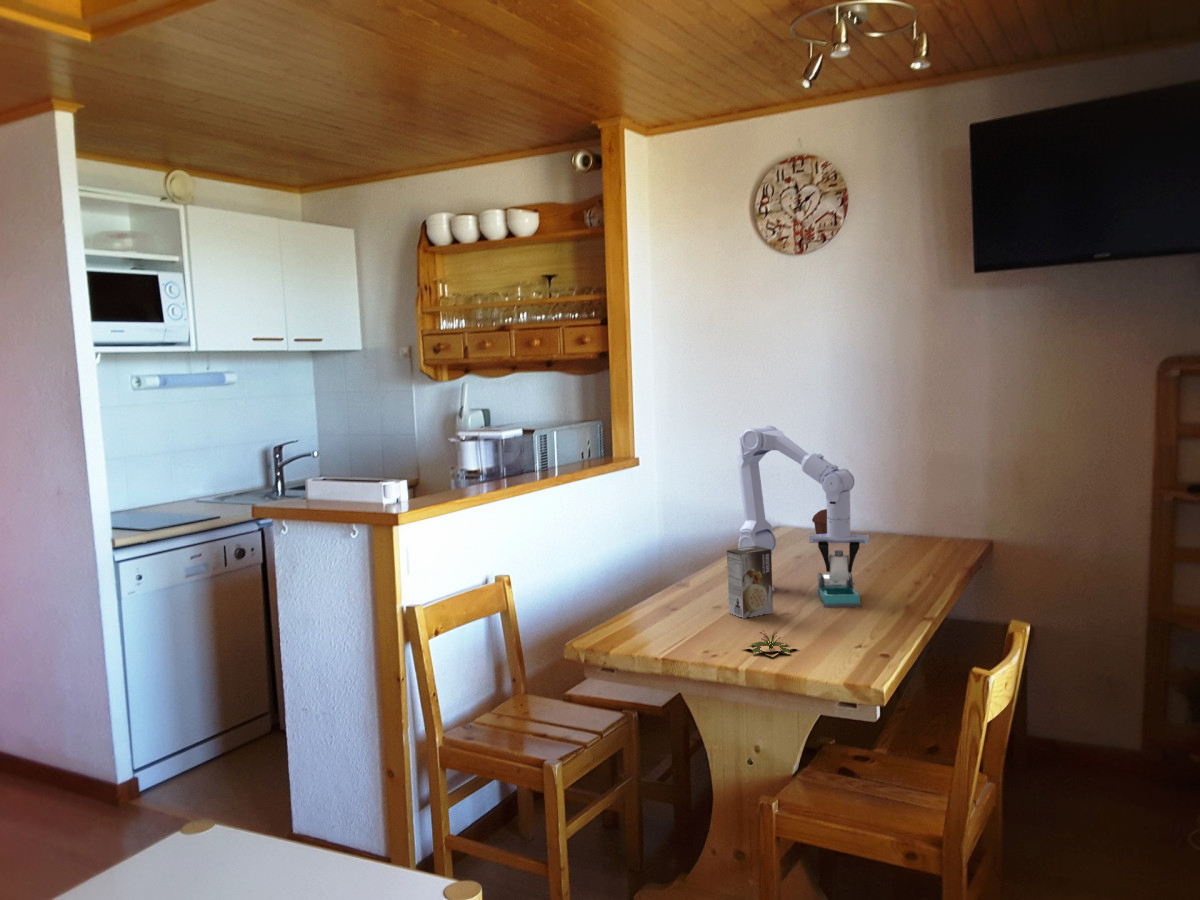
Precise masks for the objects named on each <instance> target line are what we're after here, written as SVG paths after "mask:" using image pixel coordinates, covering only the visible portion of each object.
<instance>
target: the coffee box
mask: <svg viewBox="0 0 1200 900" xmlns="http://www.w3.org/2000/svg"><path fill="white" fill-rule="evenodd" d="M726 555H727V556H726V558H727V562H726V563H727V565H726V566H727V591H728V592H727V593H728V599H727V600H728V614H730V613H731V614H730V615H732V614H733V615H732V616H735V615H736V617H738V616H739V617H738V618H740V617H742V618H741V619H743V618H745V619H748V618H747V617H750V618H753V616H755V617H759V616H758V615H760V616H763V614H765V615H769V614H773V613H774V604H773V603H774V600H773V596H774V595H773V591H772V585H773V568H772V565H773V562H772V561H773V560H772V555H771V549H767V548H763V547H759V546H751V547H744V548H739V547H737V548H732V549H727V550H726Z"/></svg>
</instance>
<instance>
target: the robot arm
mask: <svg viewBox="0 0 1200 900" xmlns="http://www.w3.org/2000/svg"><path fill="white" fill-rule="evenodd" d="M770 451H778V452H779V453H781V454H782V455H785V456H786V457H788V458H790V459H791V460H793V461H794V462H796V463H797V464H799V465H801V470H802V472H803V473H804V474H805V475H807V476H808V477H810V478H812V480H814V481H816V482H817V483H818V484H820V485H821V487H822V489H823V491H824V493H825V499H826V509H827V534H816V533H815V534H814V533H813V534H812V533H811V534H809V535H808V539H809V541H808V543H809V544H814V543H815V544H816V543H817V544H818V545H817V547H818V549H819V552H820V554H821V555H822V559H823V560H824V563H825V571H826V573H829V555H830V553H829V551H830V550H829V548H830V547H829V544H849V546H848V548H849V551H848V552H849V553H848V555H849V572H851V573H852V571H853V565H854V562H855V559H856V556H857V554H858V551H859V550H860V544H864V545H869V544H870V542H869V541H870V538H869V537H870V535H868V534H856V533H854V534H853V533H851V490H852V489H853V488H854V486H855V477H854V475H853V474H852V472H851V471H849V469H847V468H840V469H839V466H838V465H837V464H833V463H831V462H829V460H827V459H825V458H824V457H825V456H824V455H823V454H821V453H815V452H814V453H811V454H810V453H808V452H807V451H806V450H805V449H803V448H802V447H800V445H798V444H797V443H795V442H794V441H793V440H791V439H790V437H788V436H786V435H785V433H784V432H783V431H782V430H779V429H778V428H776V427H775V426H773V425H766V426H762V427H761V426H760V427H755V428H754V427H749V428H747V429H745V430H744V432H742V434H740V436H739V448H738V454H737V458H736V459H737V466H738V467H737V468H738V474H739V476H738V477H739V483H740V490H741V500H742V508H743V515H744V523H743V524H742V526H741V527H740V529H739V540H738V548H744V547H751V546H759V547H763V548H767V549H771V556H772V555H773V552H774V550H775V548H776V546H777V538H776V535H775V534H774V532H773V531H774V530H773V526H772V525H771V523H770V522H768V520H767V519H766V512H765V506H764V505H765V504H764V498H763V497H764V496H763V488H762V482H761V481H762V480H761V474H760V473H761V472H760V471H761V469H760V465H759V462H760V461H761V460H762V458H764V456H765V455H766V454H767V453H769V452H770ZM831 540H833V541H831ZM772 592H775V588H774V586H773V584H772Z"/></svg>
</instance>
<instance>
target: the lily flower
mask: <svg viewBox="0 0 1200 900" xmlns="http://www.w3.org/2000/svg"><path fill="white" fill-rule="evenodd" d="M761 631H762V632H761ZM761 631H759V633H760V634H761V635H763V638H762V637H761V638H760V639H761V640H762V641H757V642H753V643H752V645H753V646H754V647H757V648H755V649H753V651H752V654H753V653H754V652H755V653H756V652H759V653H758V654H763V652H765V651H762V650H760V648H761V647H760V646H769V649H770V648H771V649H772V648H773V646H779V645H780V646H779V647H780V648H781V649H782V650H781V649H780V650H781V651H783V652H788V653H791V651H789V649H786V648H783V647H787V646H788V643H785V642H781V641H779V640H780V639H781V636H779V637H778V635H777V634H778V631H776V630H773V633H772V634H771V635H770V634H769V636H770V637H768V634H767V633H766V632H765V630H763V629H762V630H761ZM777 637H778V638H777ZM776 638H777V639H776ZM775 639H776V640H775ZM768 641H769V643H768ZM770 641H771V642H770ZM765 642H766V643H765ZM772 642H773V643H772ZM770 643H771V644H770ZM784 643H785V644H786V645H781V644H784ZM754 644H755V645H754ZM769 644H770V645H769ZM772 645H773V646H772ZM748 647H751V646H748ZM769 649H768V650H769ZM772 650H773V649H772ZM760 651H761V652H760ZM781 651H778V653H782V654H784V653H783V652H781ZM758 654H757V655H758Z"/></svg>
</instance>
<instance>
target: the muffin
mask: <svg viewBox="0 0 1200 900" xmlns="http://www.w3.org/2000/svg"><path fill="white" fill-rule="evenodd" d="M811 521H812V523H813V524H814V531H815V534H827V508H824V509H820V510H819V511H817V512H816V513H815V514H814V515H813V517H812V519H811ZM831 541H833V540H831Z"/></svg>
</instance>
